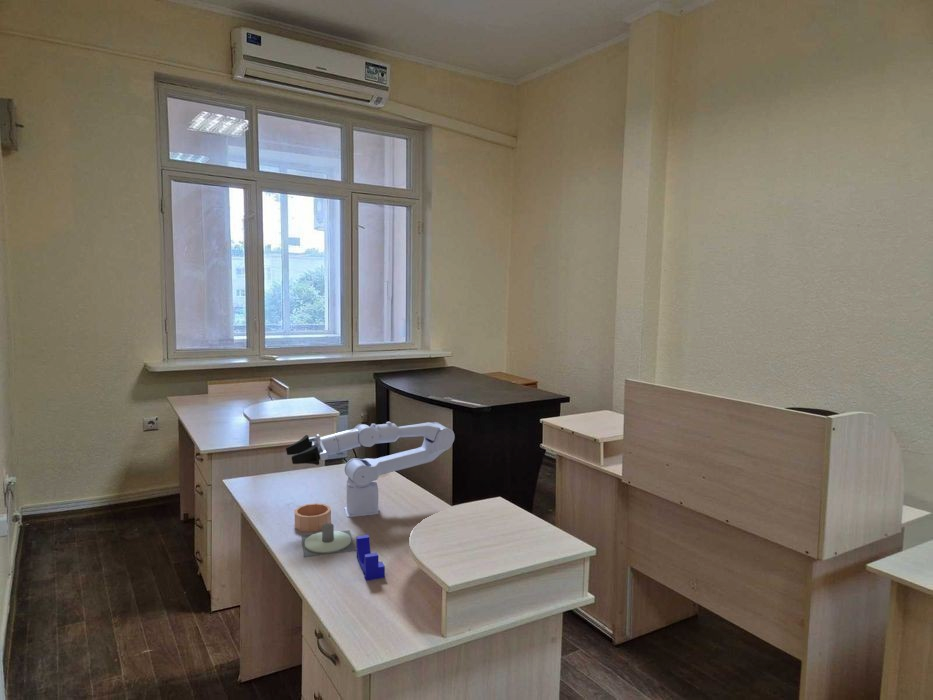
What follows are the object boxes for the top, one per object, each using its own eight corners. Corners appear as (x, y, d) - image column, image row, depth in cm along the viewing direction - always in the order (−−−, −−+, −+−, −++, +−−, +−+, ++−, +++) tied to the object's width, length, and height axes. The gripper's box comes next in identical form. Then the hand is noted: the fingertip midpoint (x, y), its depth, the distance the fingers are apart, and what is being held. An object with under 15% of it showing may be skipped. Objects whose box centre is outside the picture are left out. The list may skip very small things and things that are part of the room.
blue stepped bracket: (384, 578, 138) (384, 554, 138) (365, 581, 137) (365, 557, 136) (374, 556, 149) (373, 533, 149) (356, 559, 148) (356, 536, 147)
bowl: (329, 516, 174) (328, 502, 173) (332, 529, 164) (332, 514, 164) (294, 520, 171) (293, 505, 170) (295, 534, 161) (295, 518, 161)
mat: (349, 531, 163) (349, 530, 163) (355, 551, 151) (355, 550, 151) (301, 537, 159) (301, 535, 159) (304, 558, 147) (304, 557, 147)
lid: (347, 531, 163) (347, 514, 162) (353, 549, 151) (353, 532, 151) (303, 536, 159) (303, 519, 158) (306, 556, 148) (305, 537, 147)
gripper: (327, 423, 177) (282, 434, 171) (340, 438, 165) (292, 451, 159) (330, 444, 179) (286, 456, 173) (344, 461, 166) (296, 474, 161)
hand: (289, 455), depth 166 cm, fingers open, 7 cm apart
